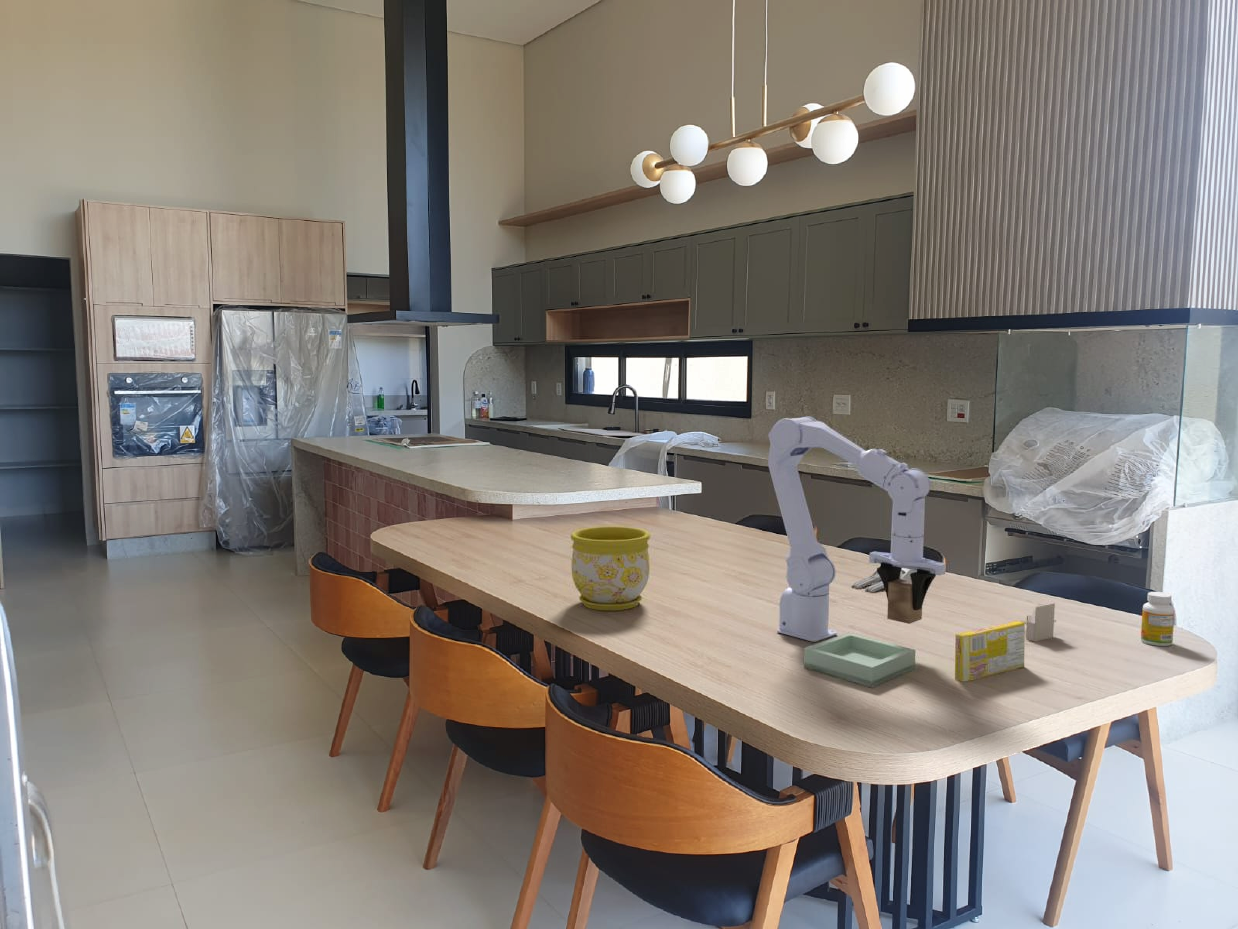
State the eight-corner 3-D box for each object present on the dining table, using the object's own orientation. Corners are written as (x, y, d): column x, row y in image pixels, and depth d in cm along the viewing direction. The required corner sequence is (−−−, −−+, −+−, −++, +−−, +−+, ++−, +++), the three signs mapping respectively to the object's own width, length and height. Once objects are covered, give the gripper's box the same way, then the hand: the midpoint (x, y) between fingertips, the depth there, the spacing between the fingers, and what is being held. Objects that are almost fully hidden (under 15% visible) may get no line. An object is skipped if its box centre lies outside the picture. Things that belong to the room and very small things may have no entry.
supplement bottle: (1143, 636, 180) (1146, 589, 179) (1174, 641, 177) (1177, 593, 176) (1138, 643, 176) (1141, 594, 175) (1170, 648, 173) (1173, 599, 172)
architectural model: (1019, 639, 181) (1020, 603, 180) (1041, 634, 184) (1043, 598, 183) (1034, 643, 178) (1035, 607, 177) (1056, 638, 181) (1058, 602, 180)
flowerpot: (612, 619, 193) (612, 544, 191) (554, 604, 205) (554, 533, 204) (666, 603, 206) (666, 532, 205) (608, 589, 219) (608, 523, 217)
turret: (845, 595, 222) (844, 577, 222) (898, 572, 233) (897, 555, 232) (877, 604, 214) (876, 585, 213) (931, 580, 225) (930, 562, 224)
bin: (803, 667, 163) (804, 648, 162) (847, 650, 172) (848, 632, 172) (871, 687, 152) (872, 667, 152) (914, 668, 162) (915, 649, 161)
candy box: (1014, 664, 164) (1017, 620, 163) (1025, 667, 163) (1027, 623, 162) (952, 679, 157) (954, 633, 156) (962, 683, 155) (964, 636, 154)
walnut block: (887, 618, 169) (888, 582, 168) (900, 614, 172) (901, 578, 171) (909, 623, 165) (910, 586, 165) (921, 619, 168) (923, 582, 168)
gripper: (861, 532, 169) (859, 602, 171) (933, 543, 159) (930, 618, 160) (881, 527, 174) (879, 596, 176) (952, 538, 163) (949, 611, 165)
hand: (904, 606), depth 168 cm, fingers closed on walnut block, 4 cm apart
